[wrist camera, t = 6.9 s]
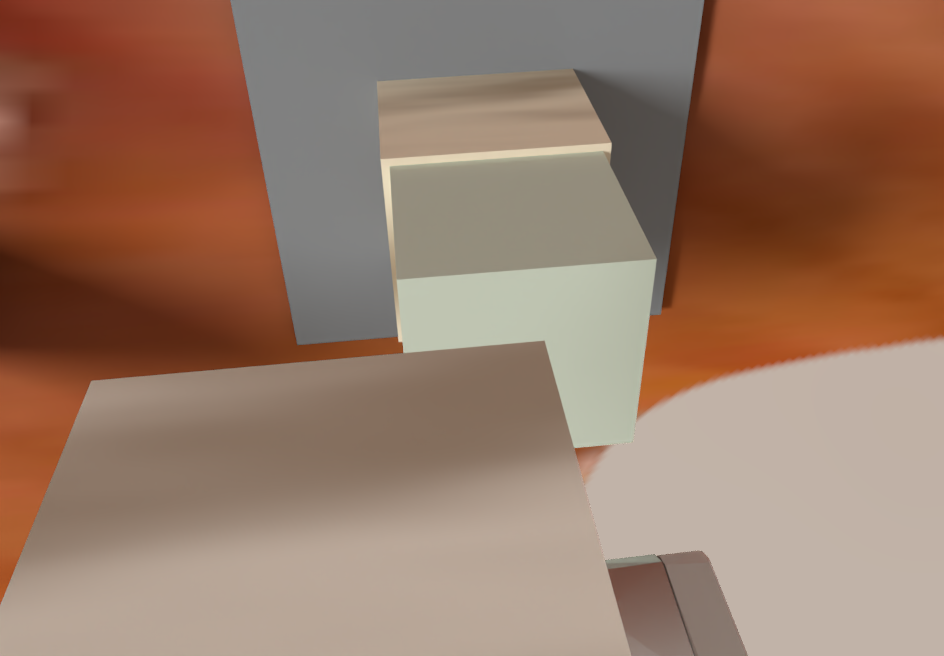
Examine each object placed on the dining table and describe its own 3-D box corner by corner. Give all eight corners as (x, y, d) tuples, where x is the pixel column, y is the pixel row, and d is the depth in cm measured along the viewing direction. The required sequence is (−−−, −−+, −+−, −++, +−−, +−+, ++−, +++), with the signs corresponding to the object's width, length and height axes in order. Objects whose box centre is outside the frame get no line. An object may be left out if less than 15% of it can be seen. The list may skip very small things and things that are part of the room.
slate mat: (223, -52, 28) (221, -47, 27) (708, -78, 29) (714, -73, 28) (298, 336, 38) (297, 345, 37) (656, 306, 39) (660, 314, 38)
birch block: (376, 81, 30) (380, 159, 26) (572, 68, 31) (611, 142, 26) (393, 249, 35) (398, 342, 30) (564, 235, 35) (596, 325, 30)
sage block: (389, 166, 26) (396, 279, 21) (603, 151, 26) (656, 259, 21) (405, 335, 30) (414, 463, 25) (590, 320, 30) (633, 442, 25)
